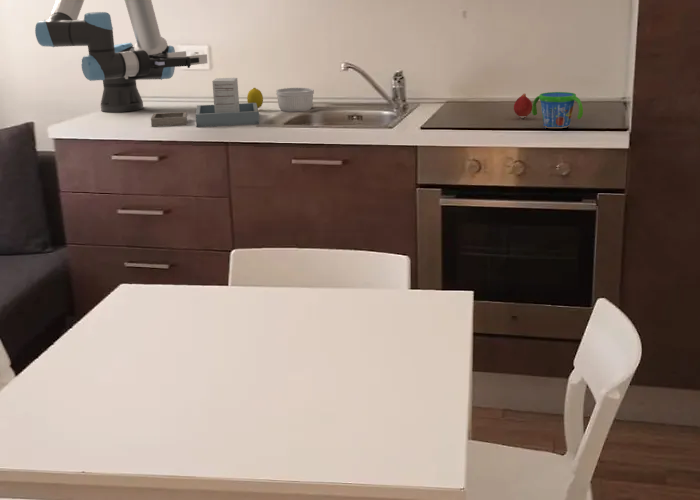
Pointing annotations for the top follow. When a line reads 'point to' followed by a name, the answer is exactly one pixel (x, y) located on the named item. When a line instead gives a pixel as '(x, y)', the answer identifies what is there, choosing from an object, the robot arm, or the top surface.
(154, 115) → the collar
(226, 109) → the supplement box
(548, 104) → the snack cup
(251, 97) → the lemon
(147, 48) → the robot arm
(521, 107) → the onion
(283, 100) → the ramekin
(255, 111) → the tray
